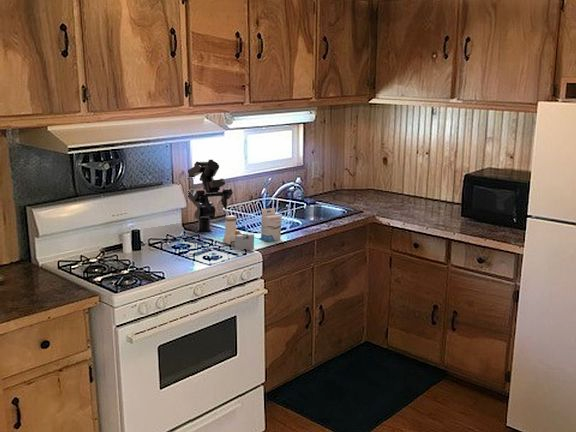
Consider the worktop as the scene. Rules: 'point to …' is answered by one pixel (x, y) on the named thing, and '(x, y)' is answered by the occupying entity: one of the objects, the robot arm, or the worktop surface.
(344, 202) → the worktop surface
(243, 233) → the gauge plunger
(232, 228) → the cream bottle
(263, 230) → the ink box
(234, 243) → the steel rail
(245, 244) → the gauge cabinet
